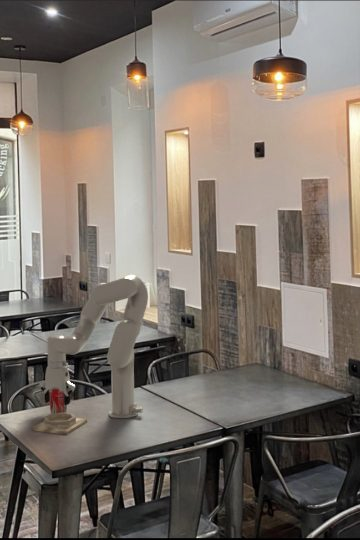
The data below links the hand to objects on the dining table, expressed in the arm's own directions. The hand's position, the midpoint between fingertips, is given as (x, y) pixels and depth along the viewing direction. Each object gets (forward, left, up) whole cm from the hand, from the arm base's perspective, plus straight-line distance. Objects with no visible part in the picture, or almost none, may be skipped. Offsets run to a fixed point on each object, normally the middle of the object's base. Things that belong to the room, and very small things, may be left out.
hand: (57, 403), depth 282 cm
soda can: (0, 0, -5) cm, 5 cm away
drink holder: (-9, +14, -5) cm, 17 cm away
